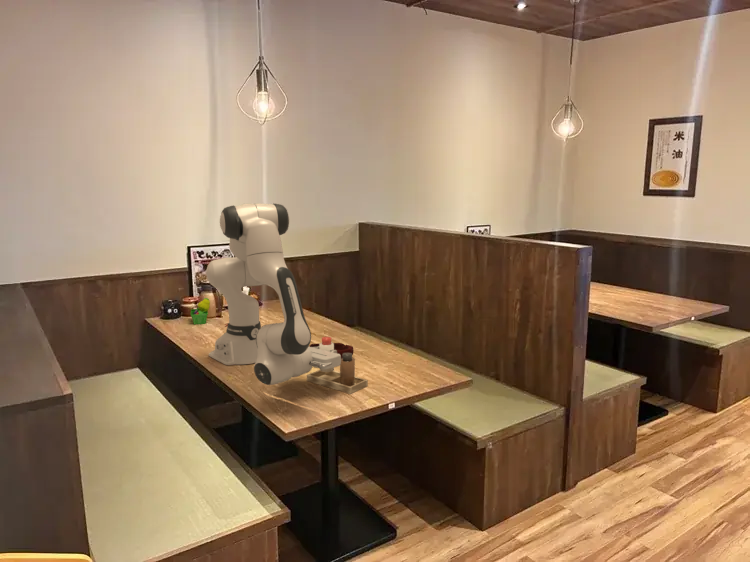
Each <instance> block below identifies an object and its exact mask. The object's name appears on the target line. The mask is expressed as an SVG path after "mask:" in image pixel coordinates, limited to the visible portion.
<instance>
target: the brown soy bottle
mask: <svg viewBox="0 0 750 562" xmlns="http://www.w3.org/2000/svg"><path fill="white" fill-rule="evenodd" d="M355 362H356V360H355V358H353V355H352V353H343V354H342V359H341V364H340V366H339V372H340V384H343V385H346V386H353V385H355V377H356V371H355V369H356V366H355V365H356V363H355Z"/></svg>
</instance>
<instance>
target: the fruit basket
mask: <svg viewBox="0 0 750 562" xmlns="http://www.w3.org/2000/svg"><path fill="white" fill-rule="evenodd" d="M210 304H211V301H210V299H209V298H208V297H207V298H206V297H204V298H203V300H201V301H199V302H198V304H197V308H193V309H190V317H191V319H192V322H193V324H194V326H195V325H205V324H206V323H207V318H208V315H209V309H210Z"/></svg>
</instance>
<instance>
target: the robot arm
mask: <svg viewBox="0 0 750 562" xmlns="http://www.w3.org/2000/svg"><path fill="white" fill-rule="evenodd" d="M220 212H221V213H220V216H219V226H220V227H219V228H220V230H221V231H222V234H223V236H225V237H226V238H228V239H229V244H228V245H229V246H228V247H229V250H230V253H232V255H233V257H221V258H218V259H214V260H211V261H210V262H209V263H208V265H207V266H206V271H205V272H206V273H205V275H206V279H207V281H208V282H209V285H211V286H212V287H214V288H215V289H217V290H218V291H219V292H220V294H222V296H223V297H224V299H225V301H226V303H227V309H228V322H227V323H225V324H224V325H225V326H224V328H226V327H227V328H226V330H225V331H226V332H224V333H223V334H222V335H221V336H219V337H218V338H217V339H216V340H215V342H214V344H215V345H214V350H211V351H210V352H209V353H208V357H210V358H212V359H214V360H215V361H217V362H218V363H222V364H223V365H225V366H234V365H250V364H254V366H253V372H254V376H255V377H256V379H257V380H258V381H259V382H260V383H262V384H264V385H268V386H272V385H273V386H274V385H277V384H280V383H283V382H286V381H289V380H291V378H296V377H297V378H298V377H300V376H302V375H305V374H308V373H310V372H311V371H312V368H317V369H319V370H320V369H330V368H334V369H335V368H337V367H340V364H341V355H340V354H337V350H330V352H329V351H325V350H321V349H319V346H318V347H309V346H310V345H311V342H312V341H311V340H312V332H311V329H310V327H309V324H308V322H307V319H306V317H305V313H304V308H303V306H302V302H301V297H300V294H299V290H298V285H297V282H296V279H295V276H294V274H293V271H291V270H290V269H289V268H288V266H287V264H286V261H285V257H284V251H283V245H282V240H281V237H280V236H281V235H284V234H286V233H287V232H288V230H289V227H290V226H289V225H290V216H289V212H288V209H287V208H286V207H285V206H284V205H283V204H280V203H271V204H270V203H243V204H239V205H229V206H226V207H224V208H223V209H222V210H221V211H220ZM264 285H265V286H267V287H270V288H271V289H273V290H274V291H275V292H276V294H277V295H278V299H279V302H280V307H281V311H282V315H283V319H284V320H283V322H274V323H269V324H264V325H262V324H261V321H260V304H259V302H258V300H257V299H256V298H255V297H253V296H252V295H249V294H246V293H244V292H243V290H242V288H245V287H258V286H259V287H260V286H264Z"/></svg>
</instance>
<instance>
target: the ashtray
mask: <svg viewBox="0 0 750 562" xmlns="http://www.w3.org/2000/svg"><path fill="white" fill-rule="evenodd" d="M320 343H321V342H320ZM320 343H310V345H309V347H318V346H319V344H320ZM333 343H334V350H337V354H340V355H341V359H342V354H343V353H352V356H353V355H354V353H355V352H354V346H353V345H349V344H344V343H342V342H333Z"/></svg>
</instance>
